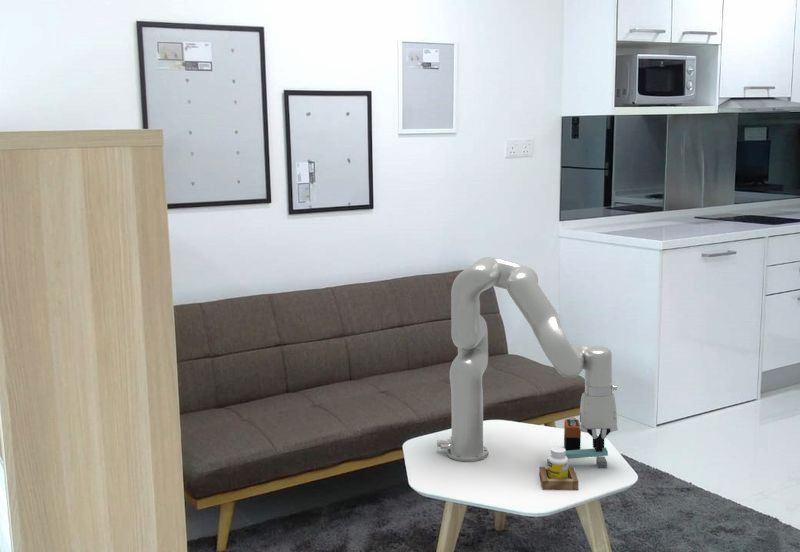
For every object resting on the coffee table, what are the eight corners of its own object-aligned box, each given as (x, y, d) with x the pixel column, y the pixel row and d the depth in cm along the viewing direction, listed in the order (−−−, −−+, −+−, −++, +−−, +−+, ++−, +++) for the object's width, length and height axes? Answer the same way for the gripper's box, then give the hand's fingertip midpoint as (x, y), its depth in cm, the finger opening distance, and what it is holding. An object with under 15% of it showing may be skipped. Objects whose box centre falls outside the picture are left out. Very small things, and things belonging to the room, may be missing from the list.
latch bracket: (549, 469, 246) (549, 456, 245) (546, 460, 252) (547, 448, 252) (607, 470, 245) (607, 456, 244) (603, 461, 251) (604, 448, 250)
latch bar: (554, 460, 247) (554, 454, 247) (553, 456, 250) (552, 451, 250) (607, 456, 246) (607, 450, 246) (606, 452, 249) (605, 446, 248)
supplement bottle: (544, 481, 238) (544, 448, 236) (557, 476, 241) (557, 444, 239) (558, 488, 234) (559, 454, 232) (571, 483, 237) (572, 449, 235)
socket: (542, 489, 233) (543, 480, 232) (539, 475, 242) (539, 466, 242) (578, 489, 232) (578, 481, 232) (573, 475, 242) (573, 467, 241)
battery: (578, 447, 262) (578, 416, 261) (580, 455, 256) (581, 424, 254) (563, 446, 263) (564, 416, 261) (565, 455, 256) (566, 423, 254)
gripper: (622, 385, 247) (622, 444, 250) (570, 386, 248) (570, 446, 251) (627, 393, 240) (627, 454, 243) (573, 394, 241) (574, 455, 244)
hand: (598, 450), depth 247 cm, fingers closed
